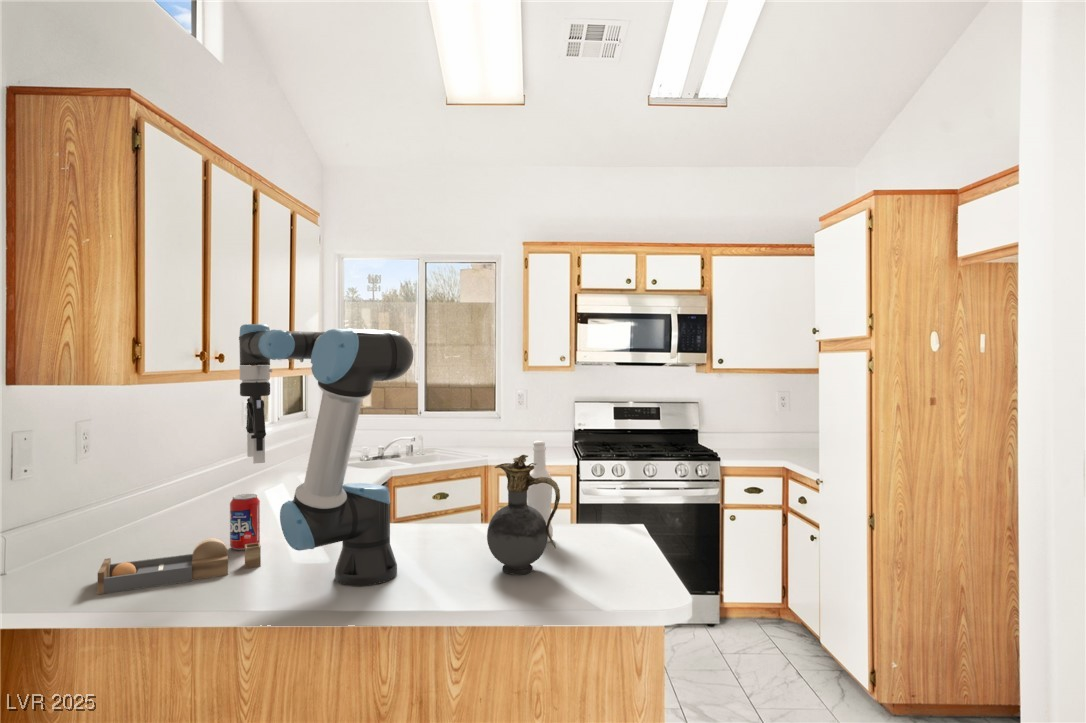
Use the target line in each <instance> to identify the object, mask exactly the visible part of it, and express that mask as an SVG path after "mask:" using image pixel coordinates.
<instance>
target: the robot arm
mask: <svg viewBox="0 0 1086 723" xmlns="http://www.w3.org/2000/svg"><path fill="white" fill-rule="evenodd" d="M238 340H239V380H240V381H241V382H240V384H239V395H240V396H241V397H248V398H247V399H246V401H247V402H246V427H245V429H246V432H247V433H246V439H247V442H246V448H247V449H246V451H247V453H246V454H247V458H250V457H251V458H252V457H253V459H252V460H253V464H254V465H255V464H264V463H266V449H265V448H266V447H265V444H266V440H265V439H266V435H267V433H266V420H265V401H264V399H262V397H267V396H270V395H271V382H270V380H271V373H272V372H273V369H272V368H271V361H272V360H273V361H275V360H310V363H311V367H310V368H311V373H312V375H313V377H314V378H315V380H316V381H317V386H318V388H319V389H320V390H321V391H322V396H321V400H320V404H319V411H318V414H317V419H316V424H315V425H316V426H315V430H314V434H313V439H312V444H311V448H310V453H309V456H308V457H309V459H308V463H307V467H306V472H305V476H304V477H305V478H304V482H303V483H301V484H299V485H298V486H297V487H296V489H295V490H294V496H293V500H287V501H285V502H283V504H282V505H281V507H280V510H279V511H280V512H279V520H280V521H279V522H280V528H281V531H282V535H283V537H284V539H285V540H286V542H287V545H288V546H290V547H291V549H293V550H295V551H300V552H301V551H307V550H315V548H319V547H323V546H328V545H332V544H337V543H340V542H342V547H341V550H340V554H339V557H338V560H337V563H336V565H335V570H334V580H335V581H336V582H337V583H339V584H341V585H345V586H350V587H364V586H374V585H378V584H383V583H386V582H389V581H391V580H393V579H394V578H395V577H396V576H397V574H398V563H397V560H396V557H395V554H394V552H393V548H392V545H391V504H392V503H391V494H390V493H391V492H390V489H389V488H388V487H386V486H385V485H381V484H375V483H367V482H366V483H365V482H364V483H363V482H362V483H361V482H350V483H346V484H345V483H344V482H345V477H346V473H347V469H348V466H349V465H348V464H349V460H350V456H351V451H352V448H353V447H352V446H353V443H354V437H355V433H356V429H357V425H358V422H359V416H360V412H361V406H362V404H363V403H362V402H363V399H366V398H367V397H369V396H371V394H372V391H373V390H372V389H373V386H374V383H375V382H385V381H386V382H387V381H392V380H396V379H398V378H400V377H402V376H404V375H405V374H406V373H407V372H408V371H409V369H410V368H411V367H412V364H413V360H414V349H413V346H412V343H411V342H410V341H409V339H408V338H407V337H406V336H404V335H403V334H401V333H399V332H397V331H394V330H389V329H388V330H385V329H381V330H380V329H361V328H360V329H359V328H349V327H344V328H332V329H327V330H326V331H296V330H295V331H291V330H282V329H271V330H270V326H269V325H267V324H263V323H262V324H258V323H257V324H256V323H253V324H252V323H250V324H242V325H241V326H240V328H239V336H238Z"/></svg>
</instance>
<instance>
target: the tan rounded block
mask: <svg viewBox="0 0 1086 723" xmlns="http://www.w3.org/2000/svg"><path fill="white" fill-rule="evenodd" d="M192 554H193V556H192V581H193V580H200V579H206V578H207V579H208V578H216V577H221V576H228V575H229V558H228V548H227V545H226V544H225V543H224V542H223V541H222V540H221V539H218V538H212V537H211V538H207V539H204V540H202V541H200V542H198V543H197V544H196V546H195V547H194V549H193V552H192Z"/></svg>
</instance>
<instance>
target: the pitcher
mask: <svg viewBox="0 0 1086 723" xmlns="http://www.w3.org/2000/svg"><path fill="white" fill-rule="evenodd" d="M528 457H529V455H526V454H521V455H519V456H518V457H514V458H513V459H512V462H513V463H510V462H506V463H501V464H497V465H495V466H494V469H501V470H503V472H504V473H505V475H506V479H507V485H506V488H507V497H508V498H507V500H508V501H507V505H506V506H503V507H501V508H500V509H498V510H497V511H496V512H495V513H494V514H493V515H492V517H491V519H490V521H489V524H488V528H487V531H486V540H487V545H488V548H489V550H490V553H491V554H492V556H493V558H495V559H496V560H497V561H498V562H500V563H501V564H503V566H502V568H501V570H502V572H504V573H506V574H509V575H526V574H530V573H531V572H532V571H533V570H534V569H533V565H532V564H533V563H535V562H536V561H537V560H539V559H540V558H541V556H542V555H543V554H544V552H545V549H546V547H547V545H548V543H547V539H548V537H549V539H550V540H551V541H550V542H551V544H552V546H553V548H554V549H556V548H557V547H556V544H555V542H554V539H553V537H552V538H551V535H550V533H549V525H550V522H551V523H552V520H553V517H554V516H555V514H556V512H557V510H558V506H559V503H560V500H561V492H560V490H561V489H560V488H559V485H558V483H557V482H556V481H555V480H554V479H553V478H552V477H551V478H552V479H551V478H548V477H539V478H533V477H532V476H530V472H531V471H532V470H533V469H534V466H533V464H534V462H531V463H529V464H528V465H526V463H525V462H526V461H527V459H526V458H528ZM534 465H536V464H534ZM539 483H547V484H549V485H551V486H552V489H553V490H554V493H555V494H554V495H555V499H554V503H553V504H554V505H553V509H551V515H550V517H549V519H548V522H547V525H546V522H545V520H544V518H543V516H542V515H541V514H540V512H538V511H537V510H536V509H534V508H533V507H531V506H528V505H527V490H528V488H529V486H531V485H533V484H539Z"/></svg>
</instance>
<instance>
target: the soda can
mask: <svg viewBox="0 0 1086 723" xmlns="http://www.w3.org/2000/svg"><path fill="white" fill-rule="evenodd" d="M231 498H232V499H231V501H230V502H229V547H230V548H231V549H233V550H235V551H245V544H253V543H260V544H261V541H260V540H261V525H260V524H261V508H260V505H261V504H260V503H261V501H260V499H259V498H258V495H257V494H255V493H241V494H237V495H234V496H233V495H232V497H231Z"/></svg>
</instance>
